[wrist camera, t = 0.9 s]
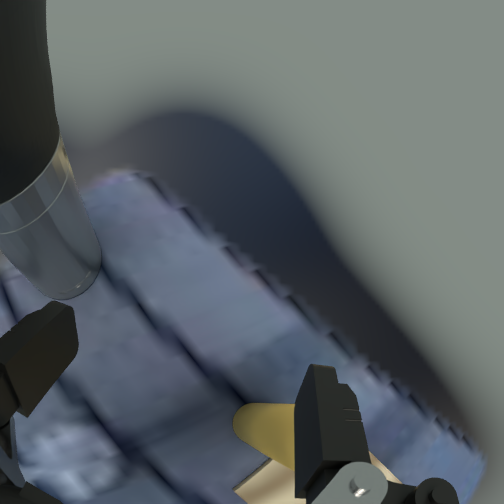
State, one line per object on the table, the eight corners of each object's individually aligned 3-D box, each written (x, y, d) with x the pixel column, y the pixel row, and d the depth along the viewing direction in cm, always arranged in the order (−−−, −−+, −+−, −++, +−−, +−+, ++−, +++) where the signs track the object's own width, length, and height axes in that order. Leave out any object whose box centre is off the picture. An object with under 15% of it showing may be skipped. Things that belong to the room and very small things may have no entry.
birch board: (232, 488, 24) (234, 491, 23) (322, 407, 29) (327, 407, 29) (330, 561, 20) (334, 564, 19) (402, 487, 26) (407, 488, 25)
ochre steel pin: (223, 421, 27) (268, 444, 13) (256, 394, 29) (327, 387, 15) (252, 451, 26) (321, 493, 12) (284, 423, 28) (373, 436, 14)
